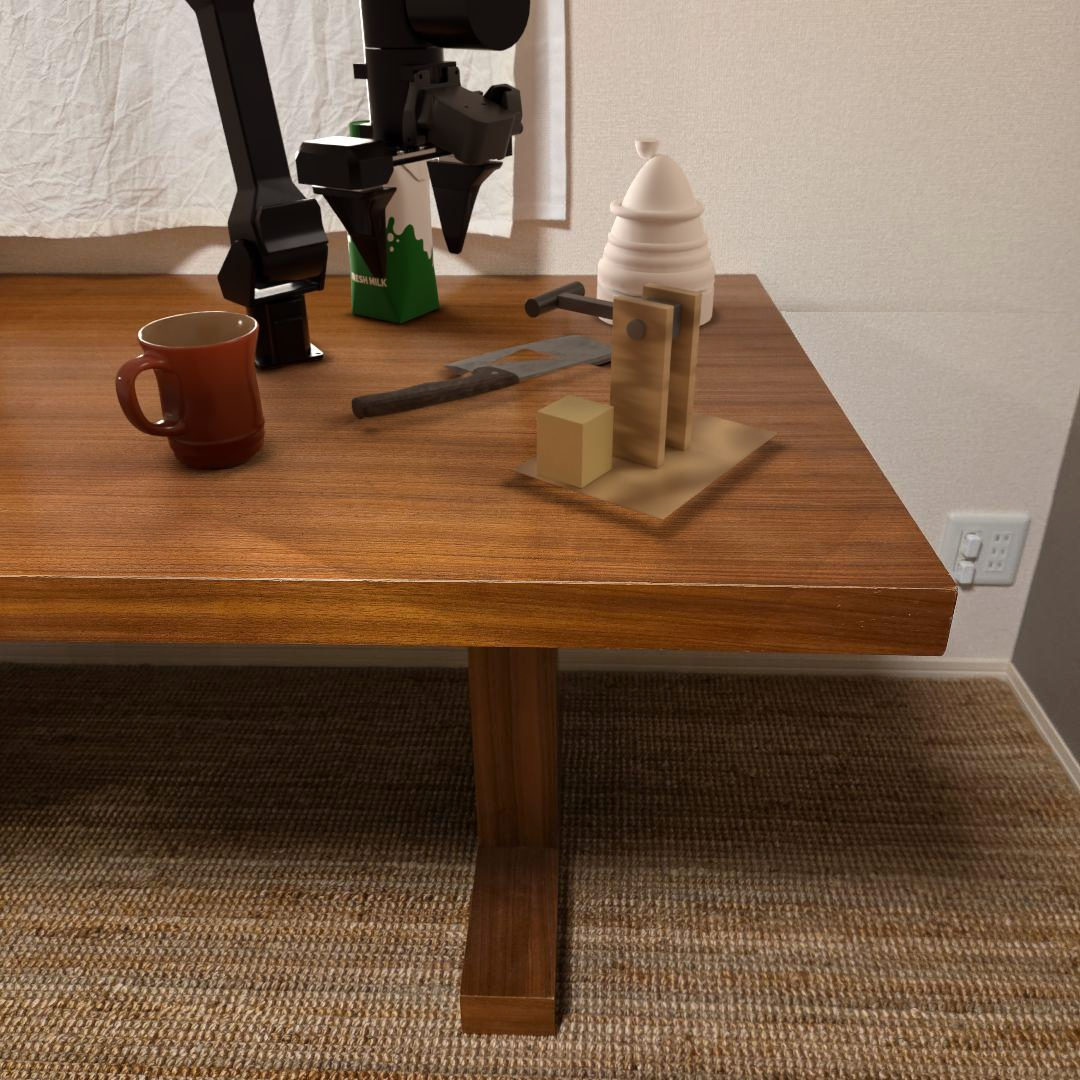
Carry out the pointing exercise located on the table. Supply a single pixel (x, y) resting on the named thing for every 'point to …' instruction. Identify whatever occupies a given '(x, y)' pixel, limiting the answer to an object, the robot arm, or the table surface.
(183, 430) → the mug
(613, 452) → the wooden stand
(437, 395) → the cleaver
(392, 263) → the milk carton
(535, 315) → the dark grey t-shaped bar
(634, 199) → the honey pot
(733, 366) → the table surface
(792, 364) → the table surface
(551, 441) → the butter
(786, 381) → the table surface
